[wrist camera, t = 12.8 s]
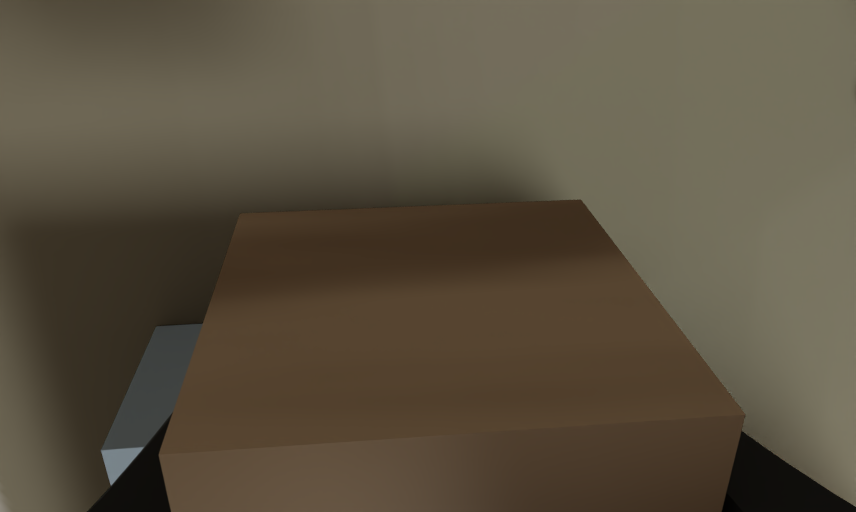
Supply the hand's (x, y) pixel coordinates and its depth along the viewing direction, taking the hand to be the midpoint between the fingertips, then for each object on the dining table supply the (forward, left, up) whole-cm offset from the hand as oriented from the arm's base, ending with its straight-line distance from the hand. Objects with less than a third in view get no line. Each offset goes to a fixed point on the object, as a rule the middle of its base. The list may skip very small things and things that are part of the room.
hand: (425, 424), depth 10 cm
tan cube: (0, 0, -2) cm, 2 cm away
